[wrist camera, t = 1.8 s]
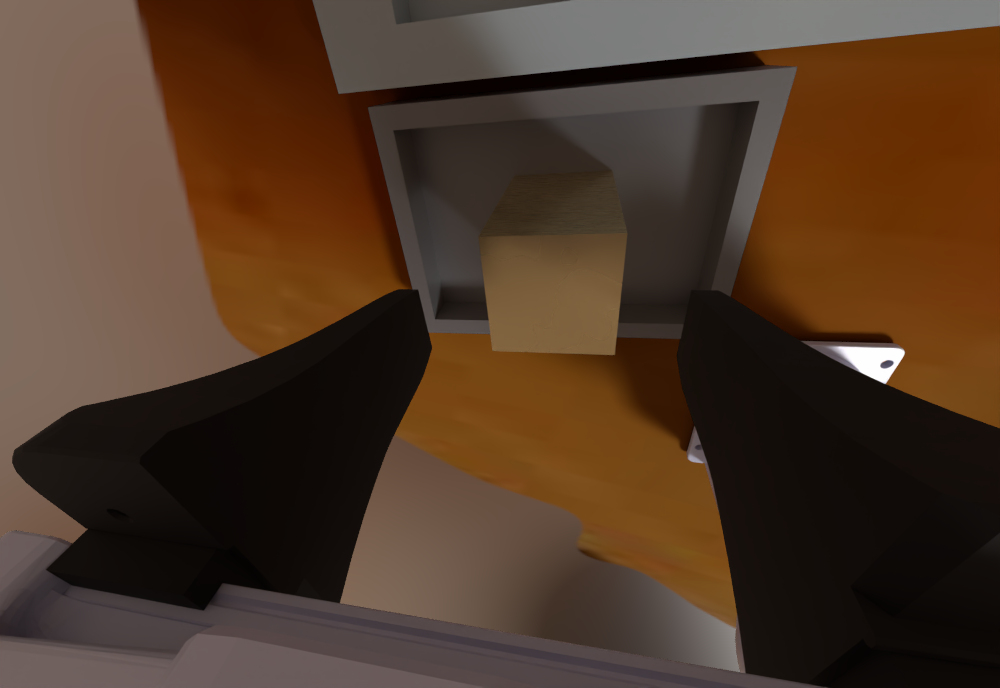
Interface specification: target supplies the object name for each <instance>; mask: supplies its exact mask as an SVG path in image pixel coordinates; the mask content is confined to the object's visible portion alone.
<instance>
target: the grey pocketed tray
mask: <svg viewBox="0 0 1000 688" xmlns="http://www.w3.org/2000/svg"><path fill="white" fill-rule="evenodd" d="M313 4H314V7H315V11H316V15H317V18H318V22H319V25H320V29H321V32H322V36H323V40H324V43H325V47H326V50H327V54H328V57H329V61H330V65H331V68H332V72H333V75H334V79H335V83H336V86H337V90H338V93H339V94H342V93H352V92H361V91H371V90H381V89H390V88H400V87H410V86H419V85H429V84H439V83H448V82H458V81H468V80H477V79H487V78H497V77H506V76H516V75H526V74H535V73H545V72H555V71H564V70H574V69H584V68H593V67H603V66H613V65H622V64H632V63H642V62H651V61H661V60H671V59H680V58H690V57H700V56H709V55H719V54H729V53H738V52H748V51H758V50H767V49H777V48H787V47H796V46H806V45H816V44H825V43H835V42H845V41H854V40H864V39H874V38H883V37H893V36H903V35H912V34H922V33H932V32H941V31H951V30H961V29H970V28H980V27H990V26H999V25H1000V0H313Z"/></svg>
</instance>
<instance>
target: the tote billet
mask: <svg viewBox="0 0 1000 688" xmlns="http://www.w3.org/2000/svg"><path fill="white" fill-rule="evenodd" d="M478 239H479V247H480V255H481V263H482V271H483V279H484V287H485V295H486V303H487V311H488V319H489V327H490V335H491V343H492V351H512V352H540V353H569V354H598V355H615V347H616V338H617V328H618V319H619V309H620V300H621V290H622V281H623V271H624V262H625V252H626V243H627V229H626V225H625V221H624V217H623V212H622V208H621V204H620V200H619V196H618V191H617V187H616V183H615V179H614V175H613V170H608V171H589V172H570V173H552V174H533V175H514V177H513V178H512V180H511V182H510V184H509V185H508V187H507V189H506V190H505V192H504V194H503V196H502V197H501V199H500V201H499V202H498V204H497V206H496V207H495V209H494V211H493V213H492V214H491V216H490V218H489V219H488V221H487V223H486V224H485V226H484V228H483V230H482V231H481V233H480V235H479V236H478Z"/></svg>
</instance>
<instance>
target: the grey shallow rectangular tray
mask: <svg viewBox="0 0 1000 688" xmlns="http://www.w3.org/2000/svg"><path fill="white" fill-rule="evenodd" d="M796 70H797V67H792V66H774V65H762V66H752V67H742V68H731V69H721V70H711V71H700V72H690V73H679V74H669V75H659V76H648V77H638V78H628V79H617V80H607V81H597V82H586V83H576V84H566V85H555V86H545V87H534V88H524V89H514V90H503V91H493V92H483V93H472V94H462V95H452V96H441V97H431V98H421V99H410V100H400V101H392V102H388V103H384V104H380V105H376V106H371V107H368V111H369V115H370V119H371V123H372V127H373V131H374V135H375V139H376V143H377V147H378V151H379V155H380V159H381V163H382V167H383V172H384V176H385V180H386V184H387V188H388V192H389V196H390V200H391V204H392V208H393V212H394V216H395V220H396V224H397V228H398V232H399V236H400V240H401V244H402V249H403V253H404V257H405V261H406V265H407V269H408V273H409V277H410V281H411V285H412V289H418V291H419V295H420V299H421V303H422V308H423V312H424V316H425V320H426V324H427V329H428V332H434V333H472V334H490V327H489V319H488V311H487V303H486V295H485V287H484V279H483V271H482V263H481V255H480V247H479V239H478V236H479V235H480V233H481V231H482V230H483V228H484V226H485V224H486V223H487V221H488V219H489V218H490V216H491V214H492V213H493V211H494V209H495V207H496V206H497V204H498V202H499V201H500V199H501V197H502V196H503V194H504V192H505V190H506V189H507V187H508V185H509V184H510V182H511V180H512V178H513V177H514V175H533V174H552V173H570V172H589V171H608V170H613V175H614V179H615V183H616V187H617V191H618V196H619V200H620V204H621V208H622V212H623V217H624V221H625V225H626V229H627V243H626V252H625V262H624V271H623V281H622V290H621V300H620V309H619V319H618V328H617V337H625V338H663V339H681V334H682V330H683V325H684V321H685V316H686V312H687V307H688V303H689V298H690V294H691V290H719V291H721V292H723V293H725V294H726V295H728V296H731V293H732V289H733V286H734V283H735V279H736V276H737V272H738V269H739V265H740V262H741V259H742V255H743V252H744V248H745V245H746V241H747V238H748V235H749V231H750V228H751V224H752V221H753V217H754V214H755V211H756V207H757V204H758V200H759V197H760V193H761V190H762V187H763V183H764V180H765V176H766V173H767V169H768V166H769V163H770V159H771V156H772V152H773V149H774V145H775V142H776V139H777V135H778V132H779V128H780V125H781V121H782V118H783V115H784V111H785V108H786V104H787V101H788V97H789V94H790V91H791V87H792V84H793V80H794V77H795V73H796Z"/></svg>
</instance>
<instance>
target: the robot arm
mask: <svg viewBox="0 0 1000 688" xmlns="http://www.w3.org/2000/svg"><path fill="white" fill-rule="evenodd" d="M431 350H432V345H431V341H430V337H429V333H428V329H427V324H426V320H425V316H424V312H423V308H422V303H421V299H420V295H419V291H418V289H398V290H396V291H393V292H391V293H388V294H386V295H384V296H382V297H381V298H379V299H377V300H375V301H373V302H371V303H370V304H368V305H366V306H364V307H362V308H361V309H359V310H357V311H355V312H353V313H352V314H350V315H348V316H346V317H345V318H343V319H341V320H339V321H337V322H335V323H333V324H331V325H330V326H328V327H326V328H324V329H322V330H320V331H318V332H316V333H314V334H312V335H310V336H308V337H306V338H304V339H302V340H300V341H298V342H296V343H294V344H291V345H289V346H287V347H285V348H282V349H280V350H277V351H275V352H273V353H270V354H268V355H265V356H263V357H260V358H258V359H255V360H252V361H249V362H246V363H243V364H241V365H238V366H235V367H232V368H229V369H226V370H224V371H221V372H218V373H215V374H212V375H208V376H205V377H201V378H198V379H195V380H192V381H188V382H184V383H181V384H177V385H173V386H170V387H166V388H162V389H159V390H154V391H151V392H146V393H141V394H137V395H133V396H128V397H123V398H119V399H114V400H110V401H105V402H101V403H96V404H91V405H86V406H82V407H79V408H77V409H75V410H73V411H71V412H69V413H67V414H66V415H64V416H63V417H61V418H60V419H58V420H57V421H55V422H54V423H52V424H51V425H50V426H48V427H47V428H45V429H44V430H42V431H41V432H40V433H38V434H37V435H35V436H34V437H32V438H31V439H30V440H28V441H27V442H25V443H24V444H22V445H21V446H20V447H18V448H17V449H15V450H14V453H13V458H12V463H13V465H14V468H15V470H16V472H17V473H18V474H19V475H20V476H21V477H22V479H23V480H24V481H25V482H26V483H27V484H28V485H30V486H31V487H32V488H33V489H35V490H36V491H37V492H38V493H39V494H41V495H42V496H43V497H45V498H46V499H47V500H49V501H50V502H52V503H53V504H54V505H56V506H57V507H58V508H60V509H61V510H62V511H64V512H65V513H66V514H68V515H69V516H70V517H72V518H73V519H74V520H76V521H77V522H78V523H80V524H81V525H83V526H84V527H85V528H87V529H88V530H87V531H85V533H83V534H82V535H81V536H80V537H79V538H78V539H77V540H76V541H75V542H74V543H73V544H72V543H70V542H68V541H65V540H63V539H61V538H57V537H53V536H47V535H41V534H35V533H29V532H23V531H17V530H16V531H11V532H7V533H6V534H4V535H3V536H2V537H1V538H0V688H1000V428H997V427H994V426H991V425H988V424H986V423H983V422H980V421H977V420H975V419H972V418H969V417H966V416H964V415H961V414H958V413H955V412H953V411H950V410H948V409H945V408H943V407H940V406H938V405H935V404H932V403H930V402H927V401H925V400H922V399H920V398H917V397H915V396H912V395H910V394H907V393H905V392H903V391H900V390H898V389H896V388H893V387H891V386H889V385H886V382H887V381H888V379H889V378H890V376H891V375H892V373H893V371H894V370H895V368H896V367H897V365H898V364H899V362H900V361H901V359H902V358H903V356H904V354H905V352H904V349H902V348H901V347H900V346H899V345H898V344H894V343H861V342H822V341H800V340H798V339H796V338H795V337H793V336H791V335H790V334H788V333H786V332H785V331H783V330H781V329H780V328H778V327H777V326H775V325H773V324H772V323H770V322H769V321H767V320H766V319H764V318H762V317H761V316H759V315H758V314H756V313H755V312H753V311H752V310H750V309H749V308H747V307H746V306H744V305H742V304H741V303H739V302H738V301H736V300H735V299H733V298H731V297H730V296H728V295H726V294H725V293H723V292H721V291H719V290H691V294H690V298H689V303H688V307H687V312H686V316H685V321H684V325H683V330H682V334H681V339H680V343H679V348H678V352H677V361H678V367H679V373H680V379H681V384H682V389H683V392H684V395H685V398H686V401H687V404H688V407H689V411H690V414H691V417H692V419H693V422H694V425H695V426H694V429H693V433H692V436H691V439H690V443H689V446H688V450H687V458H688V459H689V460H690V461H692V462H699V463H705V466H706V469H707V473H708V476H709V480H710V483H711V486H712V490H713V493H714V497H715V500H716V504H717V507H718V510H719V514H720V519H721V524H722V530H723V535H724V540H725V545H726V551H727V556H728V561H729V567H730V573H731V579H732V585H733V591H734V597H735V603H736V609H737V621H736V637H735V638H736V639H735V641H736V653H737V658H738V664H739V669H740V672H734V671H729V670H723V669H717V668H711V667H705V666H699V665H694V664H688V663H682V662H676V661H671V660H664V659H658V658H653V657H648V656H642V655H636V654H629V653H624V652H618V651H613V650H606V649H601V648H595V647H590V646H584V645H578V644H572V643H566V642H561V641H555V640H549V639H543V638H537V637H531V636H526V635H520V634H514V633H508V632H503V631H497V630H491V629H485V628H480V627H474V626H467V625H462V624H457V623H450V622H444V621H439V620H433V619H427V618H422V617H416V616H410V615H404V614H398V613H393V612H387V611H381V610H376V609H370V608H364V607H358V606H352V605H347V604H341V603H340V600H341V596H342V593H343V589H344V585H345V581H346V577H347V573H348V570H349V565H350V562H351V558H352V554H353V551H354V548H355V544H356V541H357V538H358V534H359V531H360V527H361V524H362V520H363V517H364V514H365V511H366V508H367V505H368V502H369V499H370V496H371V493H372V490H373V487H374V484H375V481H376V479H377V476H378V473H379V470H380V468H381V465H382V462H383V460H384V457H385V454H386V452H387V449H388V447H389V445H390V442H391V440H392V438H393V436H394V434H395V432H396V430H397V428H398V426H399V424H400V422H401V420H402V418H403V416H404V414H405V412H406V410H407V408H408V406H409V404H410V402H411V400H412V398H413V396H414V394H415V392H416V390H417V388H418V386H419V384H420V382H421V379H422V377H423V375H424V372H425V369H426V366H427V363H428V360H429V356H430V353H431ZM886 360H887V361H886ZM883 361H886V362H884V363H882V362H883Z"/></svg>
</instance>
